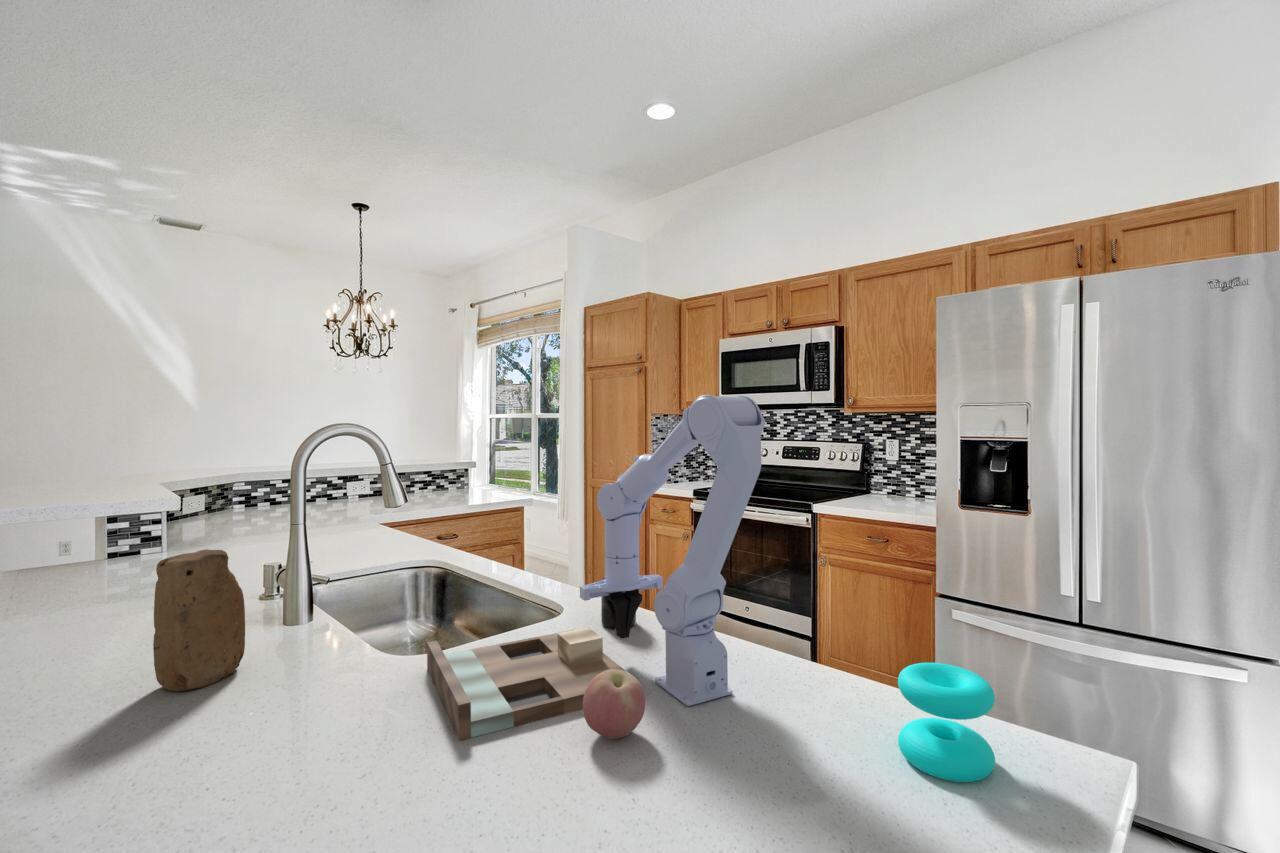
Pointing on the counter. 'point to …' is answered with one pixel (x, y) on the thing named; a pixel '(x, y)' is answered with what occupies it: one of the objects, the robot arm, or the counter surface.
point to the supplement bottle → (609, 615)
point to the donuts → (946, 722)
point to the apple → (614, 703)
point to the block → (197, 620)
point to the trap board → (508, 683)
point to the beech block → (580, 646)
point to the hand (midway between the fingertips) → (622, 636)
